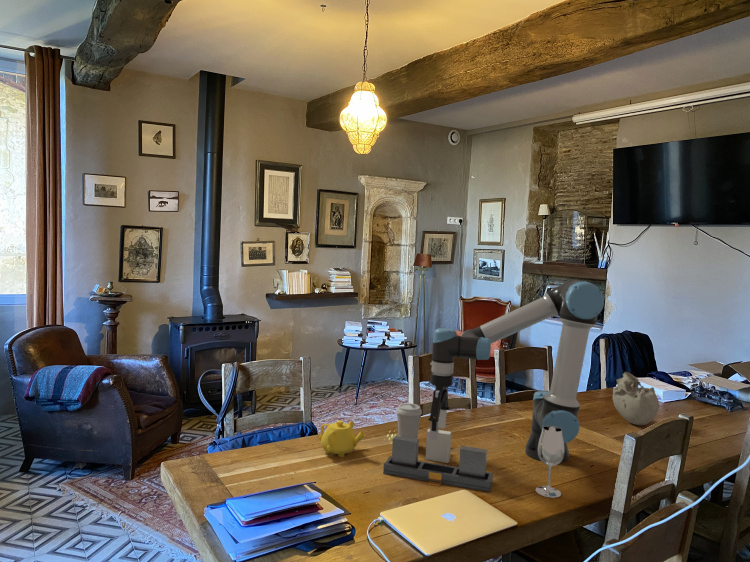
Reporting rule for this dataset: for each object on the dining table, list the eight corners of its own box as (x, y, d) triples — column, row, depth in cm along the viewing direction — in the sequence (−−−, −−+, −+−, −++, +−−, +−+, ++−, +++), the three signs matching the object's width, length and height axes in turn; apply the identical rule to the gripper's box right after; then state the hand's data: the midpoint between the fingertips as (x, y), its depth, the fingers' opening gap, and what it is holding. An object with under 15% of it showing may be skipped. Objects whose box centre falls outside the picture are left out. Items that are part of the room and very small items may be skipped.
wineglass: (531, 486, 174) (535, 424, 173) (555, 486, 175) (559, 424, 174) (540, 498, 167) (544, 432, 165) (565, 498, 167) (570, 433, 166)
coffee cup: (418, 452, 200) (420, 411, 199) (392, 449, 201) (394, 408, 200) (421, 443, 209) (423, 404, 208) (396, 440, 211) (398, 401, 210)
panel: (449, 459, 194) (451, 431, 193) (448, 463, 191) (449, 434, 190) (427, 456, 196) (428, 428, 196) (425, 459, 193) (426, 431, 193)
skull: (664, 426, 242) (668, 376, 240) (648, 433, 232) (652, 381, 231) (621, 414, 257) (624, 367, 255) (604, 420, 247) (607, 371, 246)
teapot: (365, 457, 192) (366, 426, 192) (326, 461, 188) (328, 429, 187) (352, 443, 206) (353, 413, 205) (316, 446, 201) (317, 416, 200)
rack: (492, 481, 177) (494, 447, 176) (488, 495, 167) (490, 459, 167) (390, 464, 187) (391, 432, 187) (381, 476, 178) (382, 442, 177)
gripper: (438, 365, 205) (434, 421, 206) (423, 379, 181) (418, 443, 182) (458, 367, 202) (454, 424, 204) (445, 382, 179) (441, 447, 180)
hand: (437, 433), depth 193 cm, fingers open, 13 cm apart
